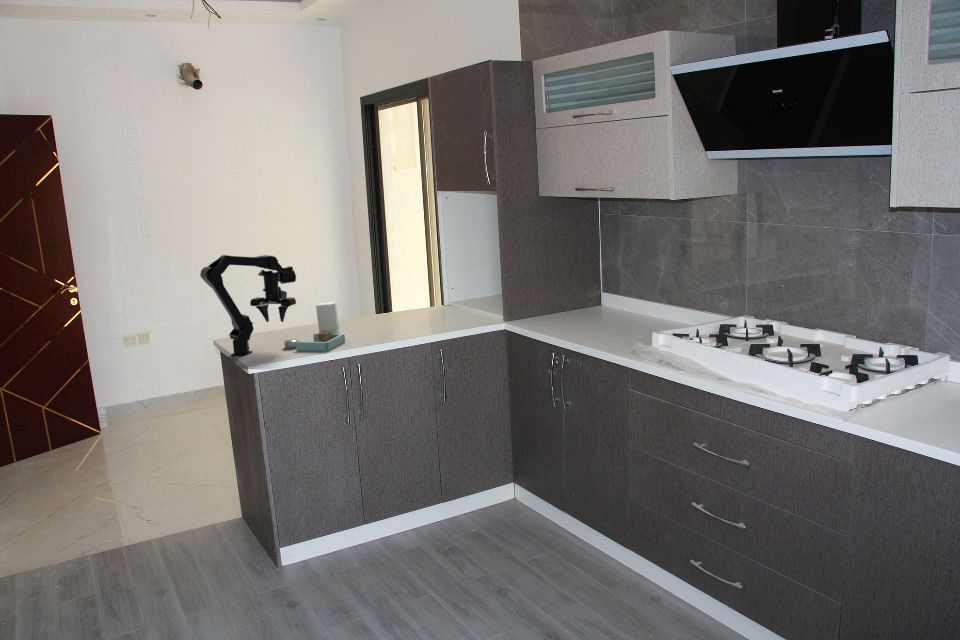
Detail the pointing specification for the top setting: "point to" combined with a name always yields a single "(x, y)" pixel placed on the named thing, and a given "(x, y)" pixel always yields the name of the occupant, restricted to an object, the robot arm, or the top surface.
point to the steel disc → (290, 343)
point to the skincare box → (327, 317)
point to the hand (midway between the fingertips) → (275, 321)
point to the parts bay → (321, 343)
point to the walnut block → (324, 336)
